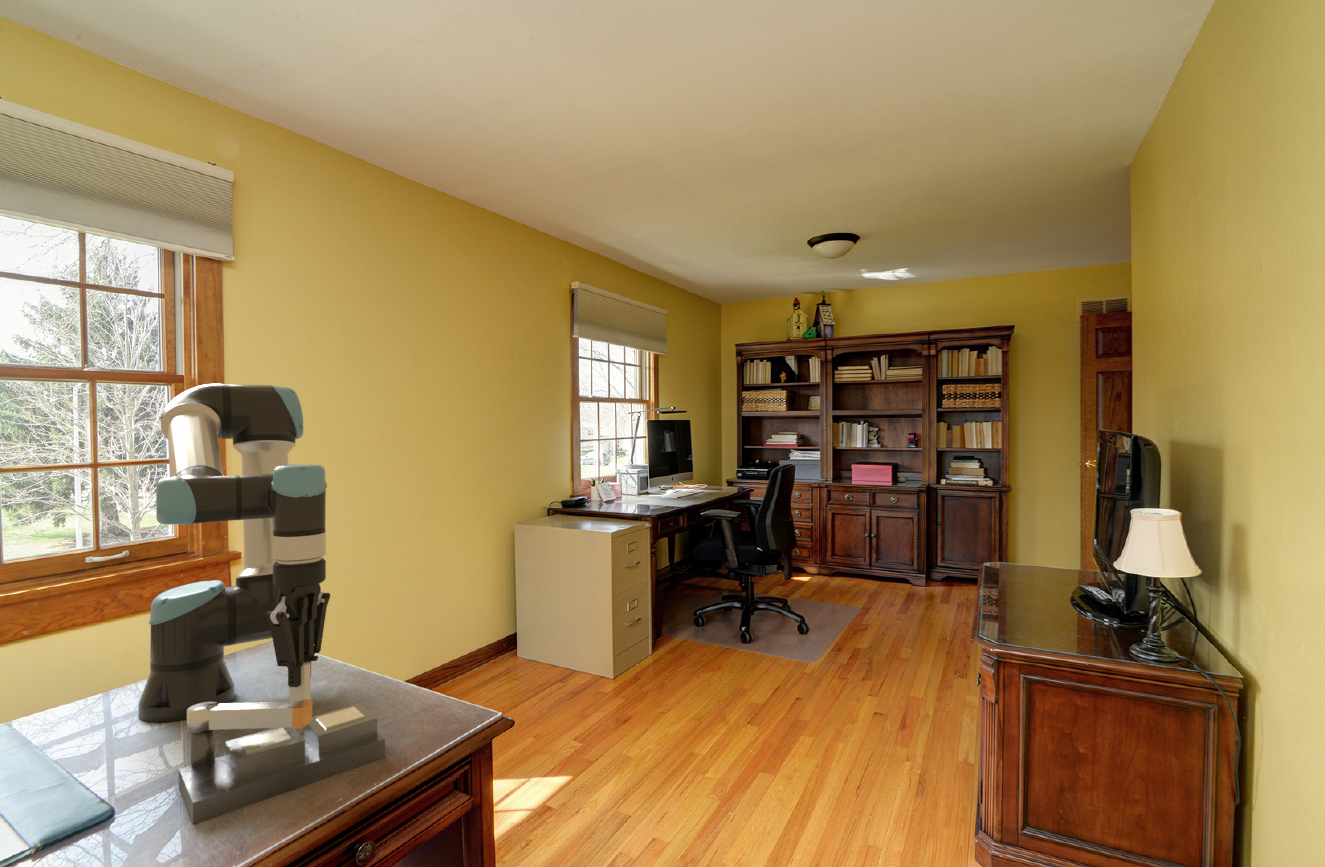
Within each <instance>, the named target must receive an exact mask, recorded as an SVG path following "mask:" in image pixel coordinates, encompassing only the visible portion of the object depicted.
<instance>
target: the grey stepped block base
mask: <svg viewBox="0 0 1325 867" xmlns="http://www.w3.org/2000/svg"><path fill="white" fill-rule="evenodd" d="M224 745H225V746H224V755H221V756H218V757H216V730H207V731H203V732H197V733H191V732H190V765H188V766H184V767H181V768H179V769H178V791H179V792H180V796H181V798H182V800H183V803H184V805H185V808H186V810H187V813H188V815H189V817H190V820H191V823H192V825H196V824H198V823H201V822H203V821H207V820H209V819H212V818H215V817H218V816H221V815H224V814H227V813H230V812H233V811H236V810H238V809H241V808H244V807H246V806H249V805H252V804H255V803H258V802H261V801H264V800H266V799H269V798H272V797H275V796H278V795H280V794H284V793H286V792H289V791H291V790H296V789H298V788H301V787H303V786H306V785H309V784H312V783H314V782H318V781H321V780H324V779H326V778H329V777H332V776H335V775H337V774H341V773H343V772H346V771H349V770H351V769H354V768H357V767H360V766H363V765H365V764H366V765H367V764H368V763H372V762H374V761H377V760H380V759H383V758H385V757H386V738H384V736H382V735H381V734H380V733H379V732H378V717H377V716H376V715H375V714H373V713H372V711H370V710H369V709H367V708H366V707H365V706H364V705H363V704H362V703H360V702H359V703H356V704H352V705H348V706H345V707H341V708H337V709H335V710H331V711H327V712H324V713H321V714H317V715H314V716H313V715H312V720H311V721H310V722H309V723H308V724H307V725H306V726H305V727H304V728H303V731H302V732H298V729H292V727H288V728H267V729H263V730H261V731H258V732H257V731H256V732H253V733H251V734H248V735H244V736H240V737H236V738H233V739H230V740H226V741H225V742H224Z"/></svg>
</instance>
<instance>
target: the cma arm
mask: <svg viewBox="0 0 1325 867" xmlns="http://www.w3.org/2000/svg"><path fill="white" fill-rule="evenodd" d="M312 717H313V699H305V700H301V701H293V702H289V701H263V702H261V701H260V702H258V701H257V702H229V703H218V702H203V703H199V704H196V705H193V706H191V707H189V708H188V709H187V719H186V731H187V733H190V734H191V733H197V732H203V731H207V730H215V731H217V730H246V729H247V730H248V729H251V730H252V729H271V728H288V727H292V729H296V730H304V727H305V726H306V725H307V724H308V723H309V722H310V721H311V720H312Z"/></svg>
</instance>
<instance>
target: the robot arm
mask: <svg viewBox="0 0 1325 867" xmlns="http://www.w3.org/2000/svg"><path fill="white" fill-rule="evenodd" d="M300 402H301V401H300V399H299V397H298V395H297V392H296V391H295V390H294V389H292V388H291V387H287V386H277V385H273V384H272V385H271V384H269V385H267V384H266V385H265V384H264V385H263V384H262V385H260V384H230V383H229V384H226V383H207V384H201V385H197V386H195V387H191V388H190V389H187V390H185V391H183V392H181V393H180V394H178V395H177V396H175V397H173V399H171V401H169V402H168V403H167V405H166V406H165V407H164V409H163V411H162V413H161V417H160V429H161V432H162V433H161V434H163V436H164V437H165V439H167V444H168V446H167V447H168V463H169V477H165V478H163V477H162V478H161V479H159V480H158V481H157V482H156V485H155V486H156V487H155V488H156V489H155V492H156V497H155V499H156V500H155V506H156V511H155V512H156V514H155V515H156V521H157V522H158V523H159V524H161V525H163V526H165V525H168V526H170V525H185V526H190V525H193V524H204V523H217V522H219V523H220V522H228V521H229V522H230V521H243V522H242V523H243V525H242V526H243V559H244V560H243V561H244V562H243V564H244V567H243V568H242V570H241V571H240V572H239V573H238V574H237V575H236V576H235V585H234V586H226V585H225V584H224V582H223V581H222V580H218V579H217V580H216V579H213V580H204V581H197V582H192V583H188V584H184V585H181V586H177V587H173V588H171V589H168V590H165V591H163V592H162V593H160V594H158V595H157V596H155V597H154V599H153V600H152V602H151V603H150V615H149V616H150V617H149V619H148V624H149V625H150V642H149V643H150V644H149V645H150V646H149V647H150V650H149V651H150V654H149V656H150V658H149V662H150V663H149V665H150V667H149V671H150V672H149V675H148V677H147V680H146V682H145V685H144V689H143V691H142V694H141V697H140V699H139V701H138V717H139V719H140V720H143V721H146V722H151V723H165V722H174V721H175V722H176V721H181V720H187V709H188V708H189V707H191V706H193V705H196V704H199V703H203V702H218V703H231V702H232V701H233V700H234V698H235V683H234V681H233V679H232V677H231V674H230V671H229V669H228V666H227V664H226V662H225V656H224V654H225V652H224V651H225V647H228V646H234V645H239V644H247V643H251V642H257V641H263V640H268V639H269V640H270V639H272V643H273V648H274V654H275V659H276V664H277V667H281V668H282V667H285V668H287V685H288V702H293V701H301V700H305V699H311V689H312V688H311V684H312V683H311V681H312V680H311V679H312V662H317V661H318V659H319V655H316V654H319V653H321V650H322V642H323V635H324V628H325V621H326V615H327V608H328V604H329V601H330V599H331V593H329V592H323V591H321V590H322V589H321V583H323V582H324V581H325V580H326V576H327V574H326V573H327V572H326V570H327V567H326V565H327V564H326V559H325V558H324V557H325V555H326V554H327V537H326V534H327V533H326V499H327V498H326V495H327V494H326V490H327V487H328V484H327V482H326V470H325V467H323V466H322V465H320V464H309V463H308V464H306V463H305V464H302V463H301V464H289V453H290V452H291V451H292V450H293V449H294V448H295V447H296V440H298V439H302V437H303V434H304V416H303V415H304V414H303V408H302V405H301V403H300ZM218 439H223V440H228V439H229V440H230V439H231V440H232V448H233V449H234V450H235V451H237V452H238V453H239V454H240V456H241V475H237V474H236V475H225V473H224V467H223V463H222V462H223V461H222V457H221V456H222V455H221V451H220V445H219V440H218Z"/></svg>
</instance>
